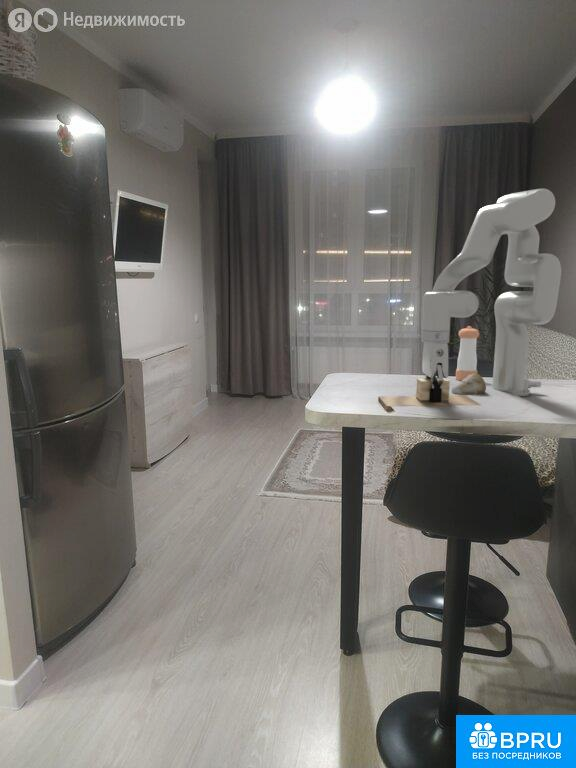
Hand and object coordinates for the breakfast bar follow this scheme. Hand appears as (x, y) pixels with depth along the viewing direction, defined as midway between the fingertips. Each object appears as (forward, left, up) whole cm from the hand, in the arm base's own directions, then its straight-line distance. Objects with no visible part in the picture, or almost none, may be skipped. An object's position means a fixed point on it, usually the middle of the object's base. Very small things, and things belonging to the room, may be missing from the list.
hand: (432, 399), depth 147 cm
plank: (+1, 0, -2) cm, 2 cm away
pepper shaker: (-24, -38, -2) cm, 45 cm away
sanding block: (0, 0, 0) cm, 0 cm away
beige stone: (-14, -10, -2) cm, 17 cm away
